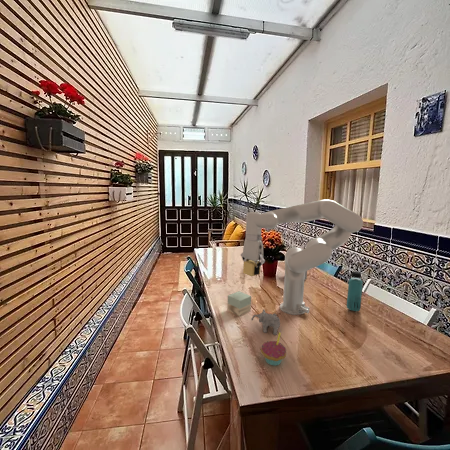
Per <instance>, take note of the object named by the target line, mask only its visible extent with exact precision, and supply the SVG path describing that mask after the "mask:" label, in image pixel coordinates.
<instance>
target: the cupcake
mask: <svg viewBox="0 0 450 450" xmlns="http://www.w3.org/2000/svg"><path fill="white" fill-rule="evenodd" d="M281 334H282V330H280V331H279V332H278V334H277V339H276V340H268V341H266V342H264V343H263V344H262V345H261V348H260V353H261V354H262V356H263V358H265V362H266V363H267V364H268V365H270V366H279V365H280V364H281V362H282V361H283V360H284V359H286V357H287V349H286V346H284V344H282V343H281V342H280V338H281Z"/></svg>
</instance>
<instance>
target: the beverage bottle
mask: <svg viewBox="0 0 450 450" xmlns="http://www.w3.org/2000/svg"><path fill="white" fill-rule="evenodd" d="M361 277H362V273H361V272H360V271H352V272H351V278H350V279H348V284H347V285H348V286H347V287H348V288H347V296H346V297H347V299H346V309H348V310H350V311H354V312H359V311H360V310H361V309H362V296H363V280H362V279H361Z"/></svg>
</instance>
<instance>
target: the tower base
mask: <svg viewBox="0 0 450 450" xmlns="http://www.w3.org/2000/svg"><path fill="white" fill-rule="evenodd" d="M251 307H252V303H251V304H249V305H247V306H245V307H243V308H241V309H239V308H237V307H234V306H232V305H230V304H228V303H227V307H226V308H227V311H228V312H229V313H231V314H234V315H235V316H237V317H242V316H243V315H246V314H247V313H250V312H251Z"/></svg>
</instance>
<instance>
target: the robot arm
mask: <svg viewBox="0 0 450 450" xmlns="http://www.w3.org/2000/svg"><path fill="white" fill-rule="evenodd" d="M245 219H246V223H245V224H246V225H245V239H244V241H243V247H242V252H241V253H240V256H241V259H242V261H243V262H244V261H248V260H252V261H254V262H255V268H254V275H255V276H258V275H260V274H259V270H260V271H261V267H260V266H262V265H263V264H265V262H266V260H265V259H264V244H263V237H262V229H267V230H272V229H273V230H274V229H275V228H277V226H278V225H281V224H285V223H295V224H296V223H297V224H302V223H306V222H311V221H316V220H321V219H325V220H327V221H328V222H331V223H332V224H334V226H333V227H332V229H330V230H329V231H327V232H325V233H323V234H321V235H319V236H316V237H315V238H312V239H311V240H309V241H308V242H307V243H306V246H305V248H303V249H302V248H300V247H297V246H293V247H290V248H288V249H287V251H286V252H285V255H284V281H283V282H284V283H283V299H282V301H283V302H282V303H280V305H279V309H280V311H281V312H283V313H284V314H287V315H291V316H299V315H304V314H305V313H306V314H309V313H310V307H309V306H306V302H305V301H304V292H305V280H306V279H305V271H307V272H308V271H309V270H311V269H314V268H316V267H318V266H321V265H323V264H325V263H326V262H328V261H329V259H331V256H332V254H333V253H332V252H333V251H334V250H336V249H338V248H340V247H342V246H343V245H344V244H346V242H348V240H349V239H350V237H351V236H352V234H353V233H357V232H359V231H361V229H362V228H363V227H364V221H363V218H362V217H361V215H360V214H358V213H356V212H355V211H353V210H351V209H349V208H347V207H345V206H344V205H342V204H340V203H338V202H336V201H335V200H331V199H326V198H325V199H320V200H316V201H310V202H306V203H302V204H297V205H293V206H289V207H283V208H279V209H274V210H269V211H266V212H265V213H261V212H257V211H249V212H247V213H246V218H245ZM257 262H258V264H257ZM257 274H258V275H257Z"/></svg>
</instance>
